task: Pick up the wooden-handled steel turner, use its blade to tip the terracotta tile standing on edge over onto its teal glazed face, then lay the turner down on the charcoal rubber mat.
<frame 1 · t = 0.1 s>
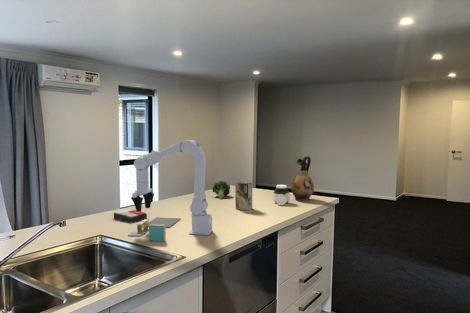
hand: (143, 209, 177), 10 cm above the worktop, tool pointing down, fingers open, 7 cm apart
turner: (141, 231, 175), on the worktop
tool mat: (162, 222, 191), on the worktop
tile: (157, 240, 161), on the worktop
coffee box: (244, 209, 224), on the worktop
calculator: (130, 219, 201), on the worktop
ceramic jug: (303, 199, 252), on the worktop
spread jar: (281, 204, 239), on the worktop
vegetable: (221, 197, 264), on the worktop
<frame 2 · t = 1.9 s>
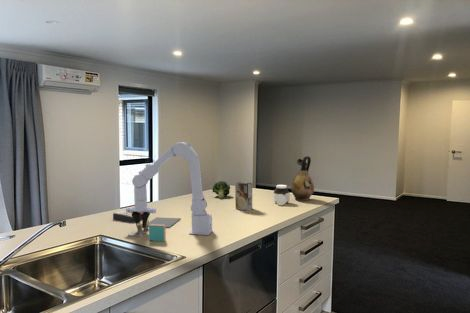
hand: (141, 227, 175), 2 cm above the worktop, tool pointing down, fingers closed on turner, 2 cm apart
turner: (141, 231, 175), on the worktop, touching gripper
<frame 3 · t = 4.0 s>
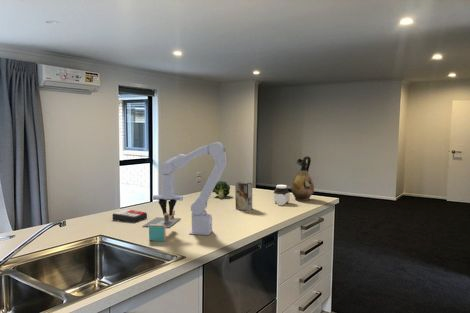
hand: (167, 215, 174), 8 cm above the worktop, tool pointing down, fingers closed on turner, 2 cm apart
turner: (167, 221, 174), point 5 cm above the worktop, touching gripper
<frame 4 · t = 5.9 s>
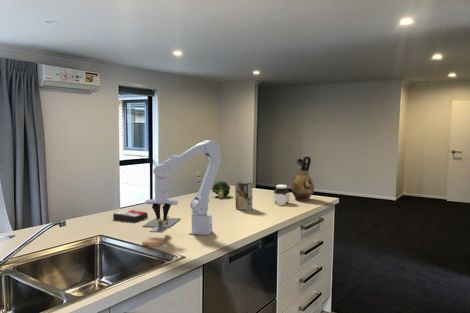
hand: (161, 220, 167), 8 cm above the worktop, tool pointing down, fingers closed on turner, 2 cm apart
turner: (161, 227, 167), point 4 cm above the worktop, touching gripper
tile: (156, 239, 160), point 1 cm above the worktop, tilted 90°
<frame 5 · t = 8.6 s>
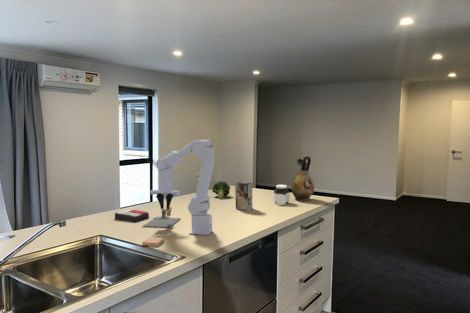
hand: (165, 208, 184), 9 cm above the worktop, tool pointing down, fingers closed on turner, 2 cm apart
turner: (164, 217, 183), point 5 cm above the worktop, tilted 6°, touching gripper
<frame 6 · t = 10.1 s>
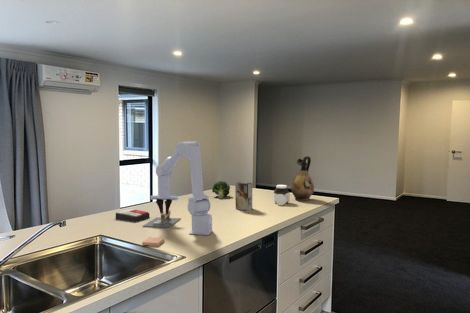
hand: (164, 213, 194), 4 cm above the worktop, tool pointing down, fingers closed on turner, 2 cm apart
turner: (164, 220, 194), resting on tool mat, touching gripper
when the fingers open (4 cm above the worktop, at t = 10.6 s): turner stays where it is, resting on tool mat.
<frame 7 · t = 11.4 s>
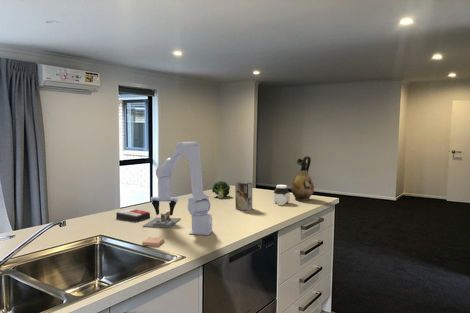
hand: (164, 214, 194), 4 cm above the worktop, tool pointing down, fingers open, 7 cm apart
turner: (164, 220, 194), resting on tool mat
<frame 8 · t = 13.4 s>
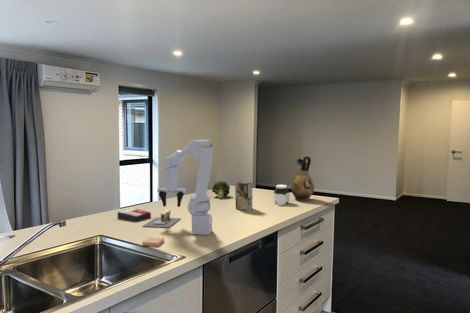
hand: (171, 206, 188), 9 cm above the worktop, tool pointing down, fingers open, 7 cm apart
at the end: tile tilted 90°; tile inside the target area (1.6 cm from its centre), point 0.5 cm above the worktop; turner inside the target area on the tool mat (1.8 cm from its centre), point 0.5 cm above the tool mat's base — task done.
